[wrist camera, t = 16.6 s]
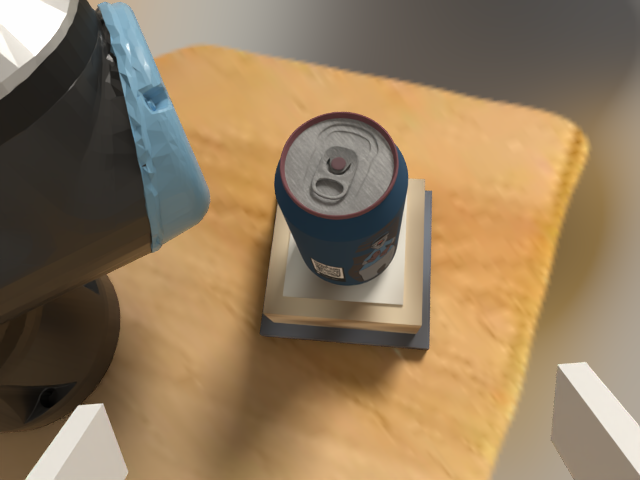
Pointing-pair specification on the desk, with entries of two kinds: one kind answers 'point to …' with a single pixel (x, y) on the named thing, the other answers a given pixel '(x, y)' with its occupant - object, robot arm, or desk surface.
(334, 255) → the soda can
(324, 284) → the beige square box
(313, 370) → the desk surface
